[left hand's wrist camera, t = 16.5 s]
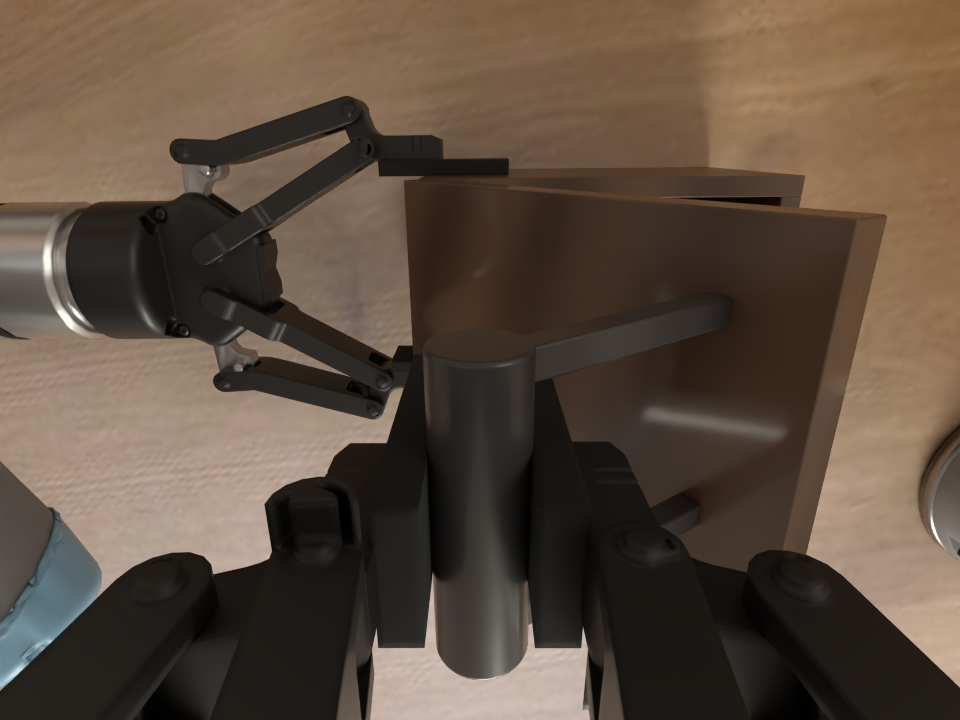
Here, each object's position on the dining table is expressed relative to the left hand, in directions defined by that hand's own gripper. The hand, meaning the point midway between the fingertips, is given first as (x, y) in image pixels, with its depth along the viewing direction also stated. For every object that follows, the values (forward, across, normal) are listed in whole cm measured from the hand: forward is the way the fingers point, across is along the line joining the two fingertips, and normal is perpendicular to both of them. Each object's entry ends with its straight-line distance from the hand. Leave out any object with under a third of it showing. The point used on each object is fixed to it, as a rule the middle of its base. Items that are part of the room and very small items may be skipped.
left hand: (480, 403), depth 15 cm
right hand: (+18, -2, 0) cm, 18 cm away
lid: (+5, -3, 0) cm, 6 cm away
